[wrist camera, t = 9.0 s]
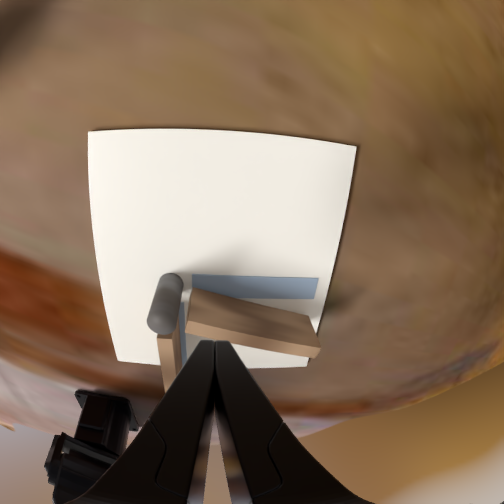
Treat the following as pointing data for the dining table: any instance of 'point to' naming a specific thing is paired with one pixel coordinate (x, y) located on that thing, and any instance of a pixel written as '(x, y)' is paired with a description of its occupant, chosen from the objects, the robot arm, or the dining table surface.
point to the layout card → (214, 226)
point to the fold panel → (250, 324)
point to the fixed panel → (167, 325)
